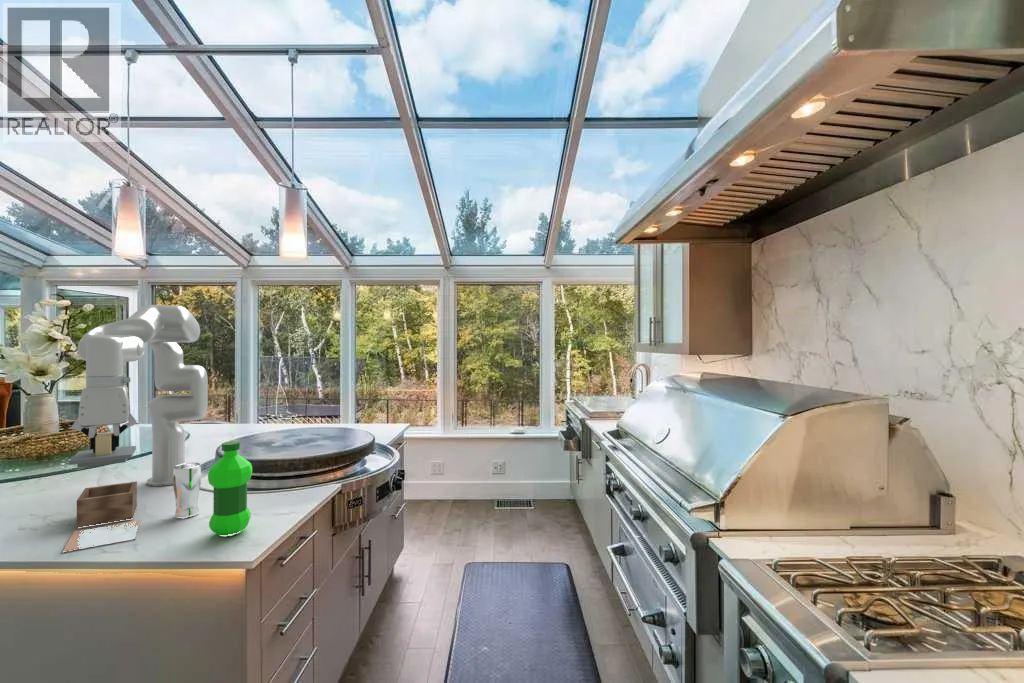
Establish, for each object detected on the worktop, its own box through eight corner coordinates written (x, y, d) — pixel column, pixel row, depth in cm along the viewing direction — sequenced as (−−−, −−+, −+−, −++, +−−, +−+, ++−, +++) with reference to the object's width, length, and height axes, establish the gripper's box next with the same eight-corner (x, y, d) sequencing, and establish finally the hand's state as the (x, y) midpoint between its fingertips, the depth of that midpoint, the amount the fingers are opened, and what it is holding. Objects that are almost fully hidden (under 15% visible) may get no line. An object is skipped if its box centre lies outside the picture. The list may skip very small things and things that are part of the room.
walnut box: (136, 506, 144) (136, 481, 144) (132, 519, 134) (132, 492, 134) (85, 514, 137) (85, 488, 137) (76, 529, 127) (76, 500, 127)
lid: (136, 453, 131) (136, 428, 131) (131, 462, 121) (131, 435, 121) (79, 459, 124) (79, 432, 124) (69, 469, 115) (69, 440, 115)
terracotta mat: (140, 521, 133) (140, 519, 133) (135, 539, 122) (135, 537, 122) (74, 532, 125) (74, 530, 125) (62, 553, 114) (62, 551, 114)
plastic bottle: (260, 527, 130) (261, 439, 130) (229, 543, 120) (230, 448, 120) (230, 523, 133) (231, 437, 132) (198, 539, 122) (199, 446, 122)
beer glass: (170, 521, 133) (170, 470, 133) (175, 512, 140) (175, 463, 139) (199, 517, 137) (199, 467, 136) (202, 509, 143) (202, 461, 142)
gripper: (145, 379, 130) (145, 444, 131) (66, 382, 121) (66, 451, 121) (142, 382, 124) (142, 450, 125) (59, 385, 115) (59, 458, 115)
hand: (104, 450), depth 123 cm, fingers closed on lid, 3 cm apart
